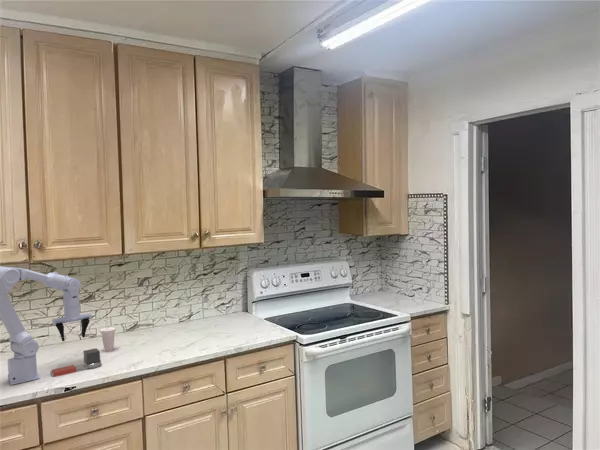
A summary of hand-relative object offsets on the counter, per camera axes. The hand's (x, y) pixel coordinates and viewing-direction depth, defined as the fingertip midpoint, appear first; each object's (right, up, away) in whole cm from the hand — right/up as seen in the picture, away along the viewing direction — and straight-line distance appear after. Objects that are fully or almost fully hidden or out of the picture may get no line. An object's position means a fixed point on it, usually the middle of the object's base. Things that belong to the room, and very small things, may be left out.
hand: (73, 338), depth 192 cm
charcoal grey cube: (+9, -9, -3) cm, 13 cm away
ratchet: (+5, -11, -7) cm, 14 cm away
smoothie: (+8, -9, +17) cm, 21 cm away
